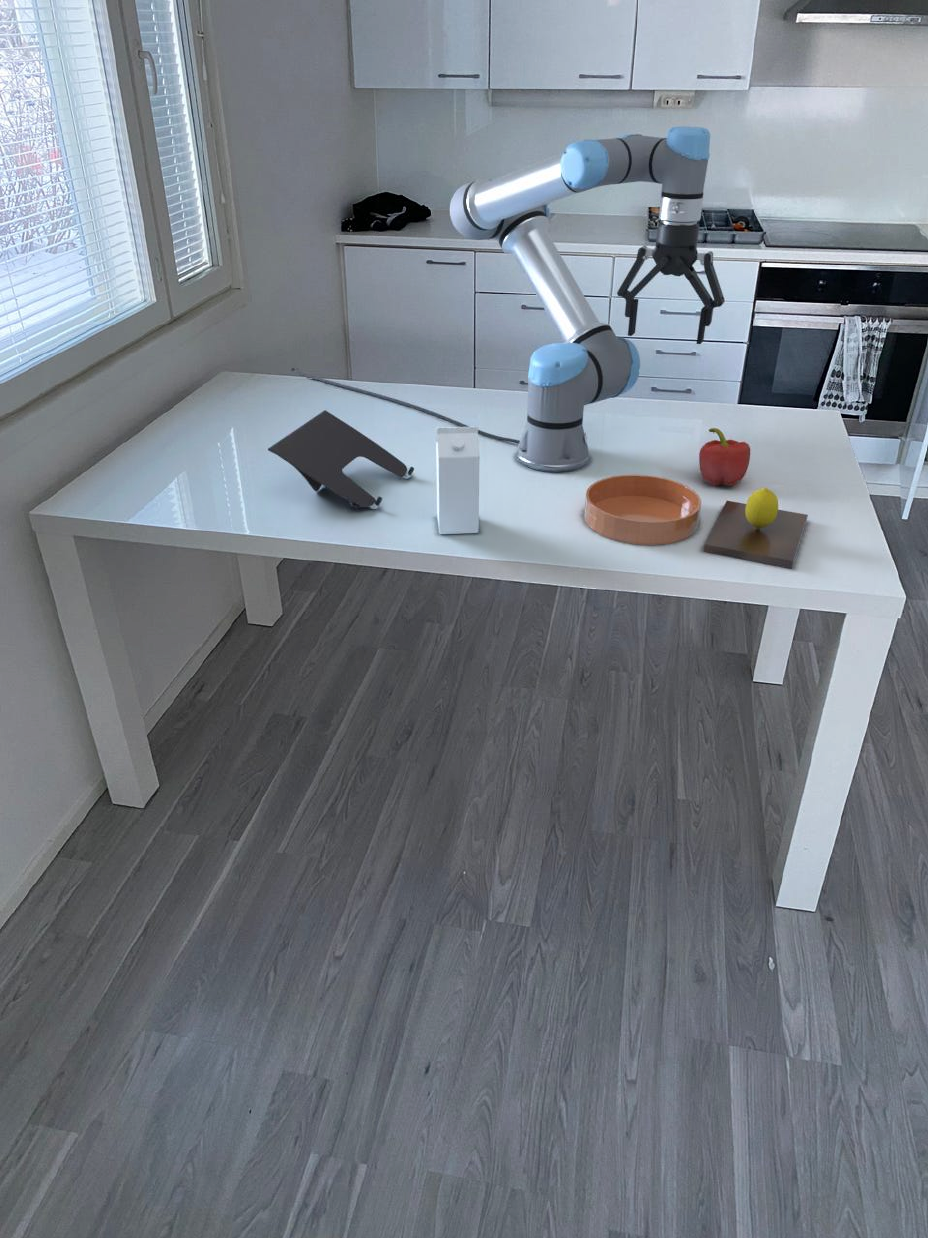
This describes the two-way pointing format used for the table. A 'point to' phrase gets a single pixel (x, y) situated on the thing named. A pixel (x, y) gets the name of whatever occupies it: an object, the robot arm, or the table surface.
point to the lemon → (761, 508)
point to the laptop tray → (335, 456)
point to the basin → (642, 509)
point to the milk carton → (457, 480)
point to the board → (756, 536)
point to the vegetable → (724, 460)
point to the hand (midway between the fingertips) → (665, 338)
